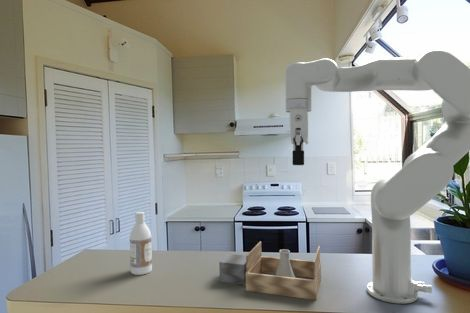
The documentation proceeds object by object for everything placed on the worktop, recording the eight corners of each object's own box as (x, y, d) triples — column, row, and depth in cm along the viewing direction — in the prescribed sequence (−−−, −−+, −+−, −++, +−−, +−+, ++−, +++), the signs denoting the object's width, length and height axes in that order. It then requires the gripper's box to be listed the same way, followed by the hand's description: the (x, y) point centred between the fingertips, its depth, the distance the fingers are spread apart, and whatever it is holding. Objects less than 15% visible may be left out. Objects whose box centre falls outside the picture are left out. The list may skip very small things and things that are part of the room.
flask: (297, 290, 92) (296, 255, 92) (271, 288, 94) (271, 254, 93) (297, 279, 99) (297, 247, 99) (274, 278, 101) (273, 246, 101)
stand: (252, 274, 104) (251, 256, 104) (244, 284, 97) (244, 264, 96) (228, 271, 107) (228, 253, 107) (219, 281, 99) (219, 262, 99)
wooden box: (321, 277, 101) (320, 245, 100) (316, 299, 86) (315, 262, 86) (260, 270, 107) (259, 240, 107) (245, 290, 92) (245, 255, 92)
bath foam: (143, 276, 104) (141, 215, 104) (126, 273, 107) (124, 213, 107) (156, 269, 111) (154, 211, 110) (140, 266, 113) (138, 210, 113)
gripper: (312, 102, 86) (312, 166, 87) (310, 109, 103) (310, 163, 104) (284, 103, 88) (284, 165, 88) (286, 110, 105) (286, 162, 105)
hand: (298, 164), depth 96 cm, fingers open, 9 cm apart
